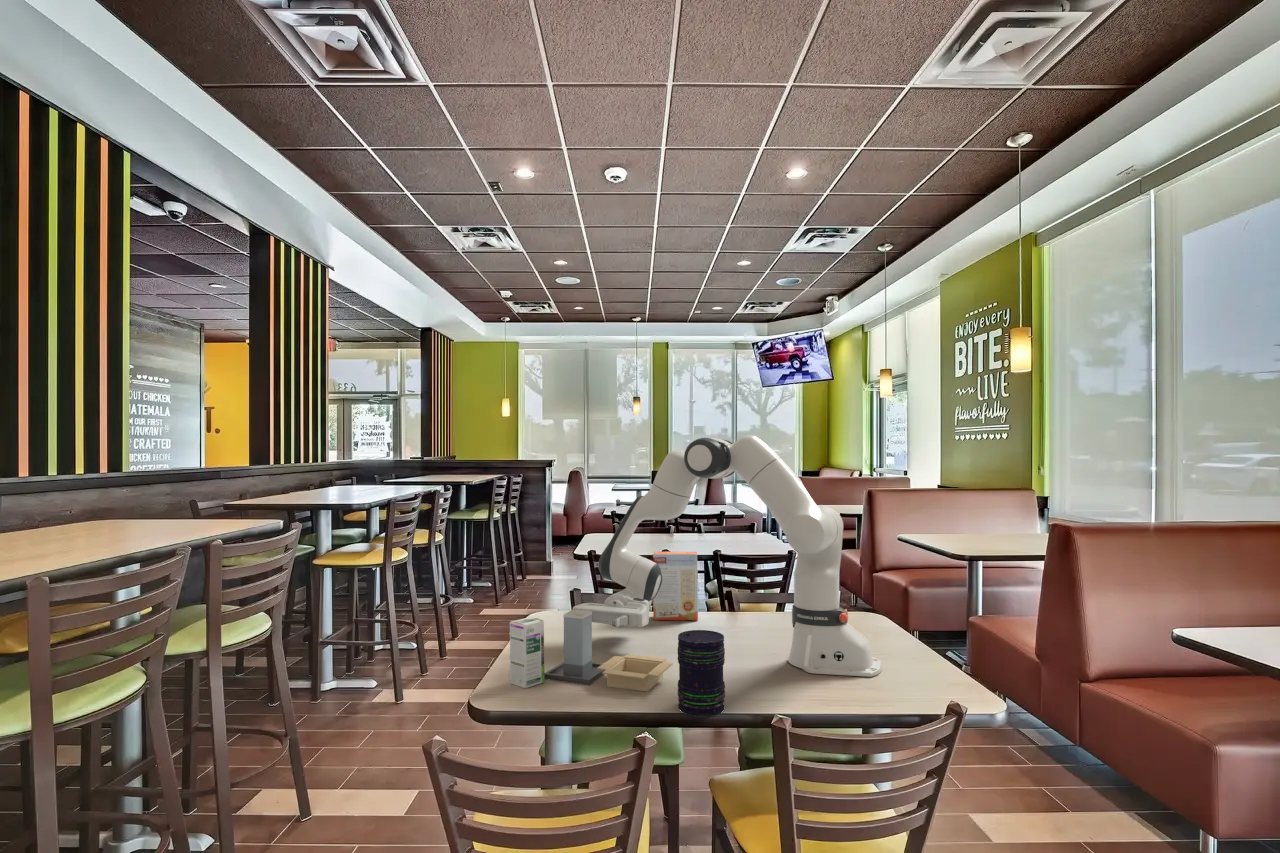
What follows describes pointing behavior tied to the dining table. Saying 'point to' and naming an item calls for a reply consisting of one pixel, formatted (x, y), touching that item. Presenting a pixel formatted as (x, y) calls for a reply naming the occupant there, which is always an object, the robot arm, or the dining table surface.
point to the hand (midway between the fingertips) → (597, 621)
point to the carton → (634, 671)
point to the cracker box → (677, 586)
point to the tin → (577, 642)
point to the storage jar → (701, 673)
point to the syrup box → (527, 652)
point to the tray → (587, 679)
